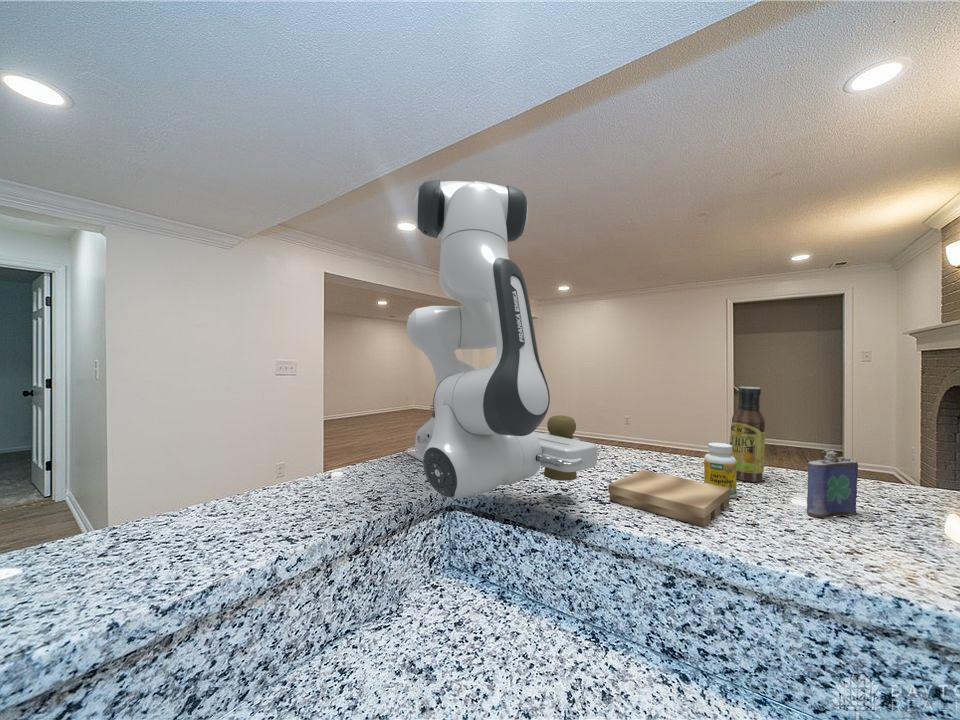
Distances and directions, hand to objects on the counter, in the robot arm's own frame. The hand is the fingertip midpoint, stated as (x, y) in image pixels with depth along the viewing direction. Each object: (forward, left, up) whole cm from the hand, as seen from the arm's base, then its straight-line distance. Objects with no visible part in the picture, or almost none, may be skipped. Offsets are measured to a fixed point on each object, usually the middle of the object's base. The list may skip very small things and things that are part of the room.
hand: (563, 439), depth 76 cm
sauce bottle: (+20, +39, -11) cm, 45 cm away
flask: (+35, +27, -11) cm, 46 cm away
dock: (+14, +12, -11) cm, 22 cm away
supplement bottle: (+19, +24, -11) cm, 33 cm away
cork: (0, -1, -7) cm, 7 cm away
